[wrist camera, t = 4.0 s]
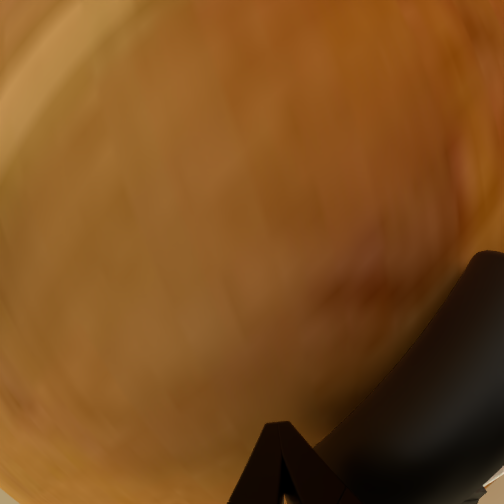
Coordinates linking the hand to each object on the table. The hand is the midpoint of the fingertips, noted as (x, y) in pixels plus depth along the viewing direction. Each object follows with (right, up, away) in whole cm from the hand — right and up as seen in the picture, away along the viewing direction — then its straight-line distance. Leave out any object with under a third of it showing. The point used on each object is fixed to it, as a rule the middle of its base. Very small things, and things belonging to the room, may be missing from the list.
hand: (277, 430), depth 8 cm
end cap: (+6, 0, +3) cm, 7 cm away
